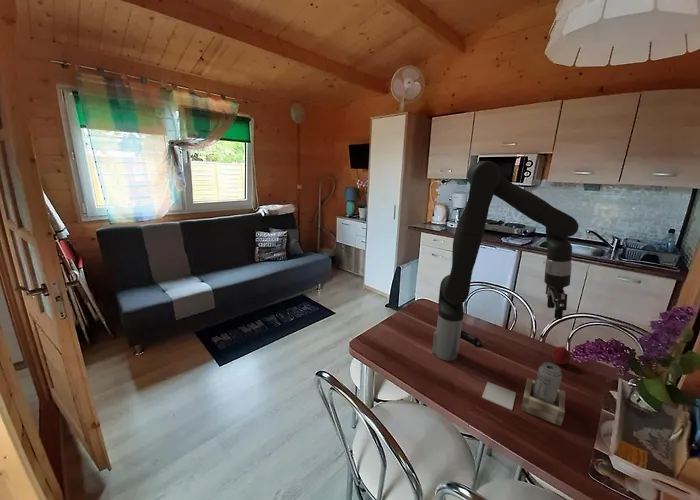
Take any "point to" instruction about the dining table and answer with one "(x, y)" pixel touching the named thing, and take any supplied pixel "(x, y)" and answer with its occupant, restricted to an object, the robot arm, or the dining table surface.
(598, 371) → the dining table surface
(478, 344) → the electric trimmer
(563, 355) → the onion
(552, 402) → the energy drink can
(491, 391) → the grey pad
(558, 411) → the pocket holder
